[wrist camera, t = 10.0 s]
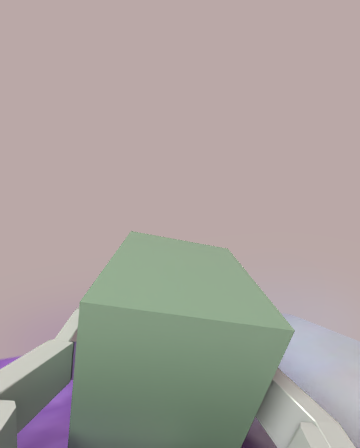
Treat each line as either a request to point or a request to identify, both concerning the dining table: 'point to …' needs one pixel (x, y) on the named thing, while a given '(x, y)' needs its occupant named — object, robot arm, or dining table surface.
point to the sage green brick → (172, 349)
